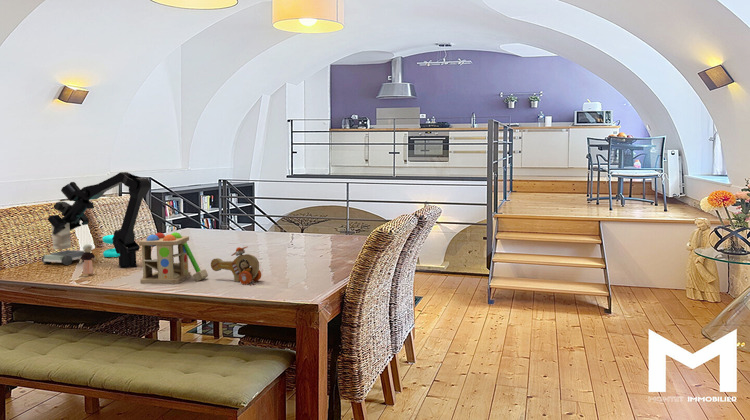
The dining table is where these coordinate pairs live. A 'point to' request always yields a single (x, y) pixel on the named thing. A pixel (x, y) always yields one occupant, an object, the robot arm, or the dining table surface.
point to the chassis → (63, 257)
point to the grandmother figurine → (87, 260)
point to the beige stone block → (62, 238)
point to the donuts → (109, 252)
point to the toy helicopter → (240, 266)
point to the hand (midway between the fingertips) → (58, 233)
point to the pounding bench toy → (168, 259)
